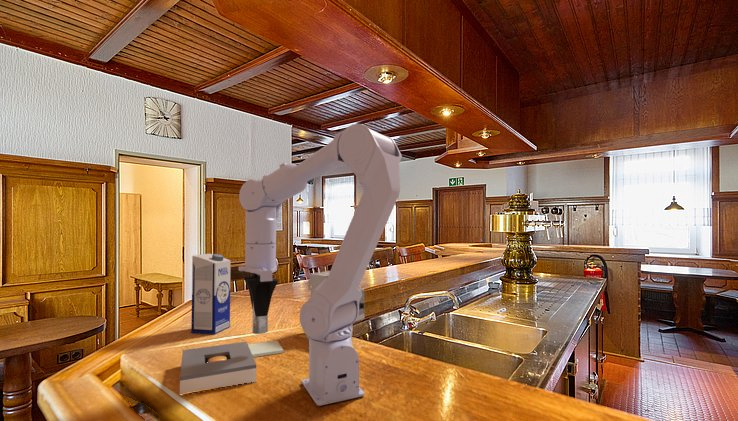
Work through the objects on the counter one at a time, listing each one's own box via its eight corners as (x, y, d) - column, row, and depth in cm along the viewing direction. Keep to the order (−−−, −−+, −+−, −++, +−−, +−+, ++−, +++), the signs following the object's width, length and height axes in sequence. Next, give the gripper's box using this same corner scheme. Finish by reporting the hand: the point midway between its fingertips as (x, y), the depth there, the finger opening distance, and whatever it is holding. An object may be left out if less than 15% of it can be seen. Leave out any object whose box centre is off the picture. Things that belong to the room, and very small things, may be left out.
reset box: (256, 381, 64) (256, 364, 64) (179, 395, 59) (179, 377, 59) (246, 355, 77) (246, 341, 77) (182, 365, 72) (182, 350, 72)
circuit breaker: (350, 343, 85) (350, 278, 85) (308, 332, 93) (308, 273, 94) (369, 335, 91) (369, 275, 91) (328, 325, 99) (328, 270, 100)
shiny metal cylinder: (268, 332, 69) (269, 285, 70) (253, 334, 68) (254, 286, 69) (266, 329, 72) (266, 283, 72) (251, 330, 71) (252, 284, 71)
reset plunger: (227, 365, 67) (227, 360, 67) (208, 368, 66) (208, 363, 66) (226, 359, 70) (226, 355, 70) (207, 362, 69) (207, 357, 69)
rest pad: (283, 352, 79) (283, 349, 79) (249, 357, 76) (249, 355, 76) (276, 343, 85) (277, 340, 85) (245, 347, 82) (245, 344, 82)
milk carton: (208, 325, 100) (209, 252, 101) (230, 326, 99) (231, 252, 99) (190, 333, 93) (191, 254, 94) (214, 334, 92) (215, 255, 92)
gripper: (235, 241, 76) (234, 307, 75) (243, 246, 62) (242, 325, 62) (270, 241, 79) (269, 304, 78) (284, 245, 65) (283, 321, 65)
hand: (260, 313), depth 70 cm, fingers closed on shiny metal cylinder, 3 cm apart
